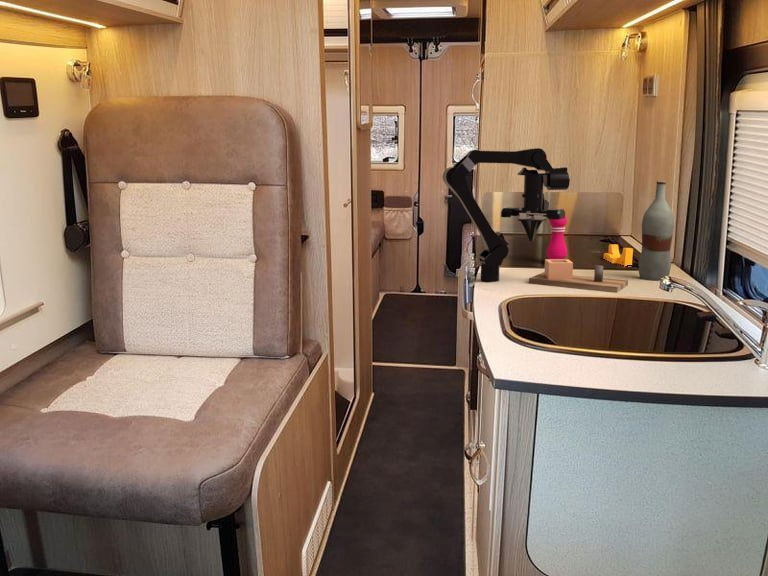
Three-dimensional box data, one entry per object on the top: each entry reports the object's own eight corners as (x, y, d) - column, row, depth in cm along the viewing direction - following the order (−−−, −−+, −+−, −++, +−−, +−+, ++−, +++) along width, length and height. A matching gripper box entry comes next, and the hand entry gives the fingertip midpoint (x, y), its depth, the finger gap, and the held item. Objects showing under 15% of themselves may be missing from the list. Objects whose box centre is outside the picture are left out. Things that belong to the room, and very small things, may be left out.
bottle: (636, 279, 193) (644, 181, 187) (638, 274, 201) (645, 180, 195) (670, 281, 189) (678, 181, 183) (670, 276, 197) (678, 180, 191)
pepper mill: (552, 267, 216) (555, 209, 212) (541, 264, 223) (544, 208, 219) (570, 266, 218) (573, 209, 214) (559, 263, 225) (562, 207, 221)
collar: (572, 279, 186) (573, 263, 185) (548, 279, 187) (549, 262, 186) (567, 275, 193) (568, 259, 192) (544, 275, 193) (545, 259, 192)
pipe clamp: (603, 262, 227) (604, 244, 226) (614, 261, 228) (615, 244, 227) (620, 267, 216) (621, 249, 214) (631, 267, 216) (633, 248, 215)
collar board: (617, 292, 175) (618, 271, 173) (528, 283, 189) (529, 263, 188) (627, 285, 184) (629, 265, 183) (543, 276, 199) (543, 258, 198)
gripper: (572, 189, 191) (569, 240, 194) (514, 188, 201) (513, 236, 204) (560, 191, 182) (557, 244, 185) (500, 190, 192) (499, 240, 195)
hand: (531, 241), depth 193 cm, fingers closed
